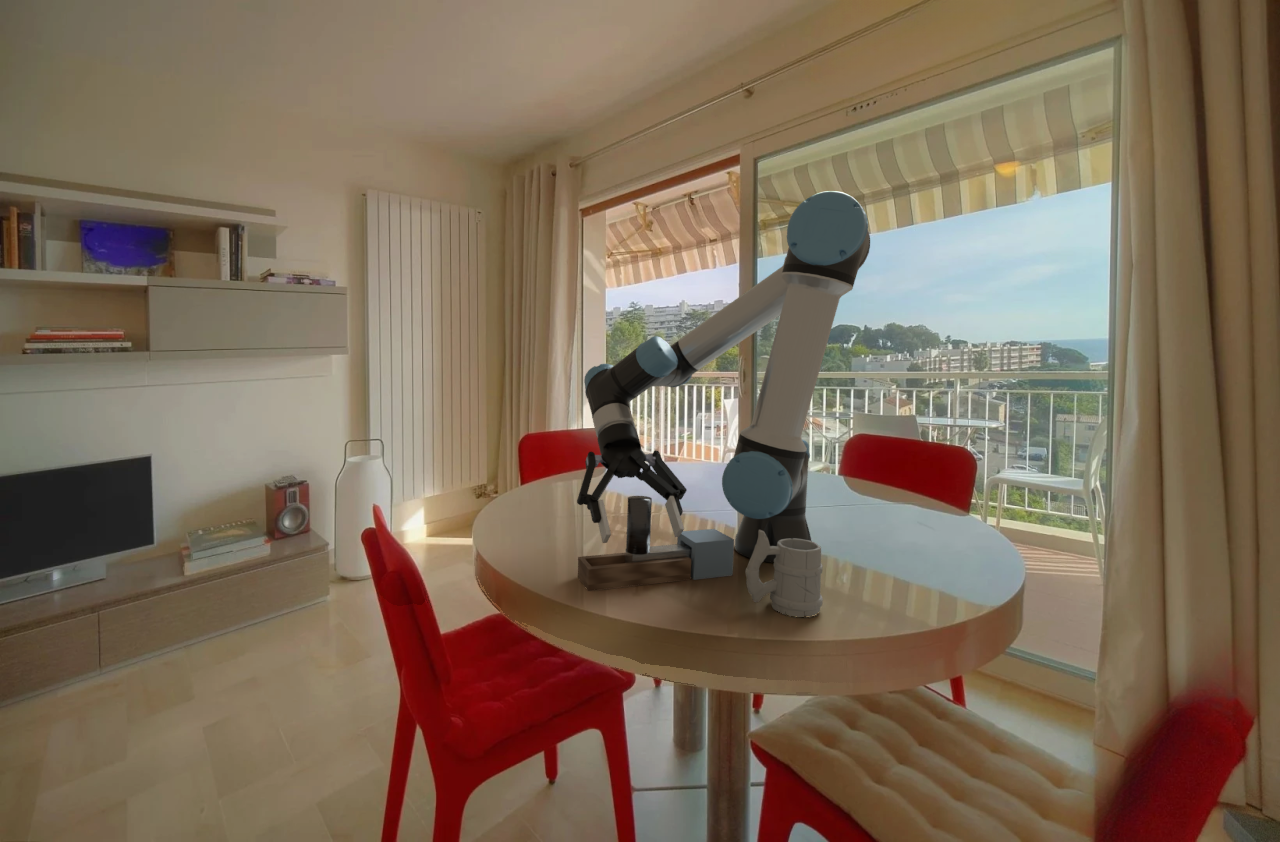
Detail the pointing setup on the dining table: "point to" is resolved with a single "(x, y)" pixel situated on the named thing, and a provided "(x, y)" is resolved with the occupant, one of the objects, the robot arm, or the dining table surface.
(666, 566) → the walnut channel
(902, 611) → the dining table surface
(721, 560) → the socket block
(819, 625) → the dining table surface
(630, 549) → the l-shaped peg bar
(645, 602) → the dining table surface
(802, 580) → the mug
